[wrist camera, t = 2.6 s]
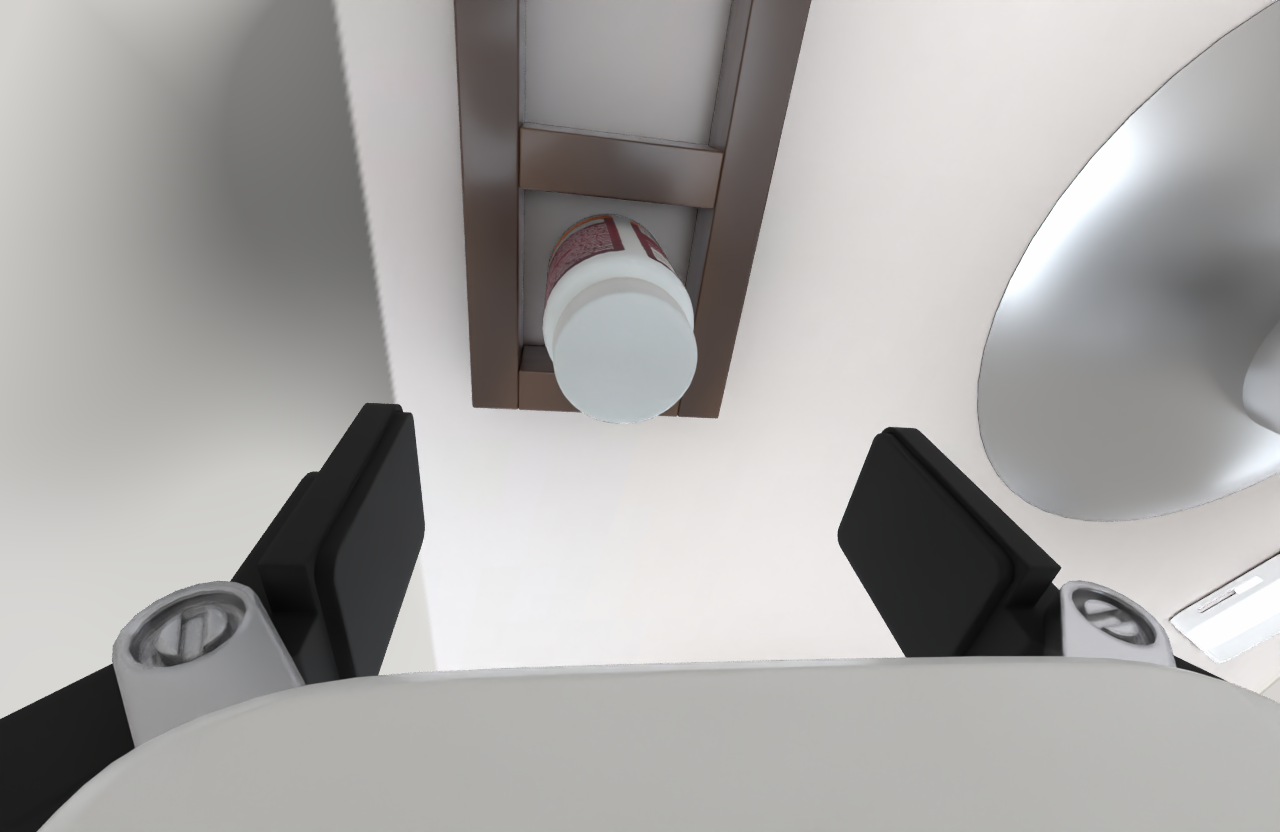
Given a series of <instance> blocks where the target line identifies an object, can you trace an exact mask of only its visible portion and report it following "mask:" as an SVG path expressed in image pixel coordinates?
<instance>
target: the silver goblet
mask: <svg viewBox="0 0 1280 832" xmlns="http://www.w3.org/2000/svg"><path fill="white" fill-rule="evenodd" d="M978 417H979V425H980V433H981V437H982V441H983V444H984V447H985V450H986V453H987V456H988V458H989V460H990V462H991V464H992V465H993V467H994V469H995V471H996V473H997V474H998V476H999V477H1000V478H1001V479H1002V480H1003V481H1004V483H1005V484H1006V485H1007V486H1008V487H1009V488H1010V489H1011V490H1012V491H1013V492H1014V493H1016V494H1017V495H1018V496H1019V497H1021V498H1022V499H1023V500H1025V501H1026V502H1028V503H1030V504H1032V505H1034V506H1036V507H1038V508H1040V509H1042V510H1044V511H1046V512H1049V513H1052V514H1056V515H1059V516H1062V517H1065V518H1072V519H1078V520H1085V521H1106V522H1114V521H1127V520H1138V519H1144V518H1150V517H1156V516H1162V515H1166V514H1170V513H1174V512H1178V511H1182V510H1186V509H1190V508H1193V507H1196V506H1199V505H1202V504H1205V503H1208V502H1211V501H1214V500H1217V499H1220V498H1223V497H1225V496H1228V495H1230V494H1233V493H1235V492H1237V491H1240V490H1242V489H1245V488H1247V487H1250V486H1252V485H1254V484H1256V483H1258V482H1260V481H1262V480H1264V479H1266V478H1268V477H1271V476H1273V475H1275V474H1277V473H1279V472H1280V0H1279V1H1277V2H1275V3H1273V4H1272V5H1270V6H1269V7H1267V8H1266V9H1264V10H1263V11H1261V12H1260V13H1258V14H1257V15H1255V16H1254V17H1252V18H1251V19H1249V20H1248V21H1246V22H1245V23H1243V24H1242V25H1240V26H1239V27H1237V28H1236V29H1234V30H1233V31H1231V32H1230V33H1228V34H1227V35H1225V36H1224V37H1222V38H1221V39H1220V40H1219V41H1217V42H1216V43H1215V44H1214V45H1212V46H1211V47H1210V48H1208V49H1207V50H1206V51H1205V52H1203V53H1202V54H1201V55H1200V56H1198V57H1197V58H1196V59H1195V60H1193V61H1192V62H1191V63H1190V64H1188V65H1187V66H1186V67H1184V68H1183V69H1182V70H1181V71H1179V72H1178V73H1177V74H1176V75H1174V76H1173V77H1172V78H1171V79H1170V80H1169V81H1168V82H1167V83H1166V84H1165V85H1164V86H1163V87H1161V88H1160V89H1159V90H1158V91H1157V92H1156V93H1155V94H1154V95H1153V96H1152V97H1151V98H1150V99H1149V100H1147V101H1146V102H1145V103H1144V104H1143V105H1142V106H1141V107H1140V108H1139V109H1138V110H1137V111H1136V112H1134V113H1133V114H1132V115H1131V116H1130V117H1129V118H1128V120H1127V121H1126V122H1125V123H1124V124H1123V125H1122V126H1121V127H1120V128H1119V129H1118V130H1117V131H1116V133H1115V134H1114V135H1113V136H1112V137H1111V138H1110V139H1109V140H1108V141H1107V142H1106V143H1105V144H1104V145H1103V147H1102V148H1101V149H1100V150H1099V151H1098V152H1097V153H1096V154H1095V155H1094V156H1093V157H1092V159H1091V160H1090V161H1089V162H1088V164H1087V165H1086V166H1085V167H1084V169H1083V170H1082V171H1081V173H1080V174H1079V175H1078V176H1077V178H1076V179H1075V180H1074V181H1073V183H1072V184H1071V185H1070V186H1069V188H1068V189H1067V190H1066V192H1065V193H1064V194H1063V195H1062V197H1061V198H1060V199H1059V201H1058V202H1057V204H1056V205H1055V207H1054V208H1053V210H1052V211H1051V213H1050V214H1049V216H1048V217H1047V219H1046V220H1045V222H1044V223H1043V225H1042V226H1041V228H1040V229H1039V231H1038V232H1037V234H1036V235H1035V237H1034V238H1033V240H1032V241H1031V243H1030V245H1029V247H1028V249H1027V250H1026V252H1025V254H1024V256H1023V258H1022V260H1021V261H1020V263H1019V265H1018V267H1017V269H1016V271H1015V272H1014V274H1013V276H1012V278H1011V280H1010V282H1009V284H1008V287H1007V289H1006V291H1005V294H1004V296H1003V298H1002V301H1001V303H1000V305H999V308H998V310H997V312H996V315H995V317H994V320H993V324H992V327H991V330H990V333H989V337H988V340H987V343H986V347H985V350H984V355H983V360H982V366H981V371H980V377H979V385H978Z"/></svg>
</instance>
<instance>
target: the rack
mask: <svg viewBox="0 0 1280 832" xmlns="http://www.w3.org/2000/svg"><path fill="white" fill-rule="evenodd" d="M810 4H811V0H732V5H731V12H730V18H729V24H728V30H727V36H726V42H725V48H724V54H723V60H722V67H721V73H720V79H719V85H718V91H717V97H716V103H715V109H714V115H713V122H712V128H711V134H710V140H709V146H708V145H703V144H695V143H687V142H679V141H671V140H663V139H655V138H647V137H639V136H631V135H623V134H615V133H607V132H599V131H591V130H583V129H575V128H567V127H559V126H551V125H543V124H535V123H525V17H526V0H454V19H455V41H456V62H457V84H458V105H459V127H460V148H461V170H462V191H463V213H464V234H465V256H466V277H467V299H468V321H469V342H470V364H471V385H472V405H473V407H474V408H496V409H518V408H519V409H520V410H539V411H562V412H581V411H580V410H578V409H577V408H576V407H575V406H574V405H572V404H571V402H570V401H569V400H568V399H567V398H566V397H565V395H564V394H563V392H562V390H561V389H560V387H559V385H558V382H557V379H556V376H555V372H554V366H553V361H552V360H551V358H550V356H549V353H548V351H547V348H546V346H530V345H524V346H523V273H524V189H530V190H539V191H548V192H558V193H567V194H577V195H586V196H595V197H605V198H614V199H624V200H633V201H642V202H652V203H661V204H670V205H680V206H689V207H698V213H697V219H696V225H695V231H694V238H693V244H692V250H691V256H690V262H689V268H688V274H687V280H686V286H685V288H686V291H687V292H688V294H689V297H690V300H691V304H692V307H693V313H694V330H693V333H694V336H695V340H696V345H697V365H696V370H695V374H694V376H693V379H692V381H691V383H690V385H689V387H688V389H687V390H686V392H685V393H684V394H683V396H682V397H681V398H680V399H679V400H678V401H677V402H676V403H675V404H674V405H673V406H672V407H670V408H669V409H668V410H666V411H665V412H663V413H661V414H660V415H658V416H675V417H676V416H677V415H678V416H679V417H697V418H718V416H719V411H720V407H721V402H722V398H723V393H724V389H725V385H726V380H727V376H728V371H729V367H730V362H731V358H732V353H733V349H734V344H735V340H736V335H737V331H738V326H739V322H740V317H741V313H742V308H743V304H744V299H745V295H746V290H747V286H748V281H749V277H750V273H751V268H752V264H753V259H754V255H755V250H756V246H757V241H758V237H759V232H760V228H761V223H762V219H763V214H764V210H765V205H766V201H767V196H768V192H769V187H770V183H771V178H772V174H773V169H774V165H775V160H776V156H777V152H778V147H779V143H780V138H781V134H782V129H783V125H784V120H785V116H786V111H787V107H788V102H789V98H790V93H791V89H792V84H793V80H794V75H795V71H796V66H797V62H798V57H799V53H800V48H801V44H802V39H803V35H804V31H805V26H806V22H807V17H808V13H809V8H810Z"/></svg>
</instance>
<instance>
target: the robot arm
mask: <svg viewBox="0 0 1280 832" xmlns="http://www.w3.org/2000/svg"><path fill="white" fill-rule="evenodd" d="M424 531H425V521H424V512H423V502H422V493H421V484H420V474H419V465H418V456H417V447H416V437H415V428H414V420H413V415H412V413H408V412H403V410H402V407H401V406H400V405H399V404H380V403H366V404H365V405H364V406H363V408H362V409H361V410H360V412H359V413H358V415H357V416H356V418H355V419H354V421H353V422H352V424H351V425H350V427H349V428H348V430H347V431H346V433H345V434H344V436H343V437H342V439H341V440H340V442H339V443H338V445H337V446H336V448H335V449H334V450H333V452H332V453H331V455H330V456H329V458H328V460H327V461H326V462H325V464H324V465H323V467H322V468H321V470H320V471H319V472H310V473H308V474H307V475H306V476H305V477H304V478H303V479H302V480H301V482H300V483H299V484H298V486H297V487H296V489H295V490H294V492H293V493H292V495H291V496H290V497H289V499H288V500H287V501H286V503H285V504H284V506H283V507H282V509H281V510H280V511H279V513H278V514H277V516H276V517H275V518H274V520H273V521H272V523H271V524H270V526H269V527H268V529H267V530H266V531H265V533H264V534H263V535H262V537H261V538H260V540H259V541H258V543H257V544H256V545H255V547H254V548H253V550H252V551H251V553H250V554H249V555H248V557H247V558H246V560H245V561H244V562H243V564H242V565H241V567H240V568H239V570H238V571H237V572H236V574H235V575H234V577H233V579H231V581H230V582H226V581H216V582H209V583H202V584H197V585H194V586H190V587H187V588H184V589H181V590H178V591H175V592H173V593H171V594H169V595H167V596H165V597H163V598H161V599H159V600H157V601H155V602H153V603H152V604H151V605H149V606H148V607H147V608H145V609H144V610H142V611H141V612H139V613H138V614H137V615H135V616H134V617H133V619H132V620H131V621H130V622H129V623H128V624H127V625H126V626H125V627H124V628H123V629H122V630H121V632H120V634H119V636H118V637H117V639H116V641H115V643H114V645H113V654H112V662H113V664H111V665H109V666H107V667H105V668H103V669H101V670H98V671H96V672H95V673H92V674H90V675H89V676H86V677H84V678H83V679H80V680H78V681H76V682H74V683H72V684H70V685H68V686H66V687H64V688H62V689H60V690H58V691H56V692H54V693H52V694H50V695H48V696H46V697H44V698H42V699H40V700H38V701H36V702H34V703H32V704H30V705H28V706H26V707H24V708H22V709H20V710H18V711H16V712H14V713H12V714H10V715H8V716H6V717H4V718H2V719H0V832H1280V703H1278V702H1276V701H1274V700H1271V699H1269V698H1267V697H1265V696H1262V695H1260V694H1258V693H1256V692H1253V691H1251V690H1248V689H1246V688H1243V687H1241V686H1238V685H1235V684H1233V683H1230V682H1227V681H1225V680H1223V679H1221V678H1219V677H1217V676H1215V675H1213V674H1211V673H1209V672H1207V671H1205V670H1203V669H1201V668H1198V667H1196V666H1194V665H1192V664H1190V663H1188V662H1186V661H1184V660H1182V659H1180V658H1178V657H1176V656H1174V655H1173V652H1172V648H1171V645H1170V641H1169V638H1168V636H1167V634H1166V632H1165V630H1164V628H1163V627H1162V626H1161V625H1160V624H1159V623H1158V621H1157V620H1156V619H1155V618H1154V617H1153V616H1152V615H1151V614H1149V613H1148V612H1147V611H1146V610H1145V609H1143V608H1142V607H1141V606H1140V605H1138V604H1136V603H1135V602H1133V601H1132V600H1130V599H1129V598H1127V597H1126V596H1124V595H1122V594H1120V593H1118V592H1116V591H1114V590H1111V589H1109V588H1107V587H1104V586H1101V585H1098V584H1095V583H1091V582H1085V581H1069V582H1068V583H1066V584H1064V585H1063V586H1062V587H1061V589H1060V590H1059V589H1058V588H1057V587H1056V586H1055V585H1054V584H1053V583H1052V581H1053V579H1054V578H1055V576H1056V575H1057V574H1058V572H1059V571H1060V569H1061V567H1060V566H1059V565H1058V564H1057V563H1056V562H1055V561H1054V560H1053V559H1052V558H1051V557H1050V556H1049V555H1048V554H1047V553H1046V552H1045V551H1044V550H1043V549H1042V548H1041V547H1039V546H1038V545H1037V544H1036V543H1035V542H1034V541H1033V540H1032V539H1031V538H1030V537H1029V536H1028V535H1027V534H1026V533H1025V532H1024V531H1023V530H1022V529H1021V528H1020V527H1019V526H1018V525H1017V524H1016V523H1015V522H1014V521H1013V520H1011V519H1010V518H1009V517H1008V516H1007V515H1006V514H1005V513H1004V512H1003V511H1002V510H1001V509H1000V508H999V507H998V506H997V505H996V504H995V503H994V502H993V501H992V500H991V499H990V498H989V497H988V496H987V495H986V494H984V493H983V492H982V491H981V490H980V489H979V488H978V487H977V486H976V485H975V484H974V483H973V482H972V481H971V480H970V479H969V478H968V477H967V476H966V475H965V474H964V473H963V472H962V471H961V470H960V469H959V468H958V467H956V466H955V465H954V464H953V463H952V462H951V461H950V460H949V459H948V458H947V457H946V456H945V455H944V454H943V453H942V452H941V451H940V450H939V449H938V448H937V447H936V446H935V445H934V444H933V443H932V442H931V441H930V440H928V439H927V438H926V437H925V436H924V435H923V434H922V433H921V432H920V431H919V430H917V429H915V428H898V427H888V428H886V429H884V430H883V431H882V433H880V434H877V435H876V436H875V438H874V440H873V442H872V445H871V447H870V450H869V452H868V455H867V457H866V460H865V463H864V465H863V468H862V470H861V473H860V475H859V478H858V480H857V483H856V485H855V488H854V490H853V493H852V496H851V498H850V501H849V503H848V506H847V508H846V511H845V513H844V516H843V518H842V521H841V523H840V526H839V529H838V542H839V545H840V547H841V549H842V551H843V552H844V554H845V556H846V557H847V559H848V561H849V562H850V564H851V566H852V567H853V569H854V571H855V573H856V574H857V576H858V578H859V579H860V581H861V583H862V584H863V586H864V588H865V589H866V591H867V593H868V594H869V596H870V598H871V599H872V601H873V603H874V604H875V606H876V608H877V610H878V611H879V613H880V615H881V616H882V618H883V620H884V621H885V623H886V625H887V626H888V628H889V630H890V631H891V633H892V635H893V636H894V638H895V640H896V641H897V643H898V645H899V647H900V648H901V650H902V652H903V653H904V655H905V657H906V658H858V659H814V660H771V661H731V662H691V663H655V664H622V665H588V666H555V667H522V668H500V669H478V670H457V671H435V672H414V673H402V674H391V675H379V676H378V674H379V671H380V668H381V665H382V662H383V659H384V656H385V653H386V650H387V647H388V644H389V641H390V638H391V635H392V632H393V629H394V626H395V623H396V620H397V617H398V614H399V611H400V608H401V605H402V602H403V599H404V596H405V593H406V590H407V587H408V584H409V581H410V578H411V575H412V572H413V569H414V566H415V563H416V560H417V558H418V555H419V552H420V549H421V546H422V542H423V538H424Z"/></svg>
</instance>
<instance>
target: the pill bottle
mask: <svg viewBox="0 0 1280 832" xmlns="http://www.w3.org/2000/svg"><path fill="white" fill-rule="evenodd" d="M542 327H543V335H544V341H545V345H546V348H547V351H548V353H549V356H550V358H551V360H552V361H553V366H554V372H555V376H556V379H557V382H558V385H559V387H560V389H561V390H562V392H563V394H564V395H565V397H566V398H567V399H568V400H569V401H570V402H571V404H572V405H574V406H575V407H576V408H577V409H578V410H580V411H581V412H583V413H584V414H586V415H588V416H590V417H592V418H594V419H597V420H600V421H604V422H608V423H616V424H628V423H637V422H641V421H645V420H648V419H651V418H654V417H656V416H658V415H660V414H661V413H663V412H665V411H666V410H668V409H669V408H670V407H672V406H673V405H674V404H675V403H676V402H677V401H678V400H679V399H680V398H681V397H682V396H683V394H684V393H685V392H686V390H687V389H688V387H689V385H690V383H691V381H692V379H693V376H694V374H695V370H696V365H697V345H696V340H695V336H694V333H693V330H694V313H693V307H692V304H691V300H690V297H689V294H688V292H687V291H686V288H685V286H684V285H683V283H682V281H681V280H680V279H679V277H678V276H677V274H676V272H675V271H674V269H673V267H672V266H671V264H670V262H669V261H668V259H667V257H666V256H665V254H664V253H663V251H662V249H661V248H660V246H659V244H658V243H657V241H656V240H655V238H654V237H653V236H652V235H651V234H650V233H649V232H648V231H647V230H646V229H645V228H644V227H643V226H641V225H640V224H638V223H636V222H635V221H633V220H631V219H628V218H626V217H622V216H617V215H609V214H606V215H597V216H592V217H589V218H586V219H584V220H582V221H579V222H578V223H576V224H574V225H573V226H572V227H570V228H569V229H568V230H567V231H566V232H565V233H564V234H563V235H562V236H561V238H560V239H559V240H558V242H557V243H556V245H555V247H554V249H553V251H552V254H551V257H550V261H549V266H548V274H547V286H546V294H545V307H544V313H543V325H542Z"/></svg>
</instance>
